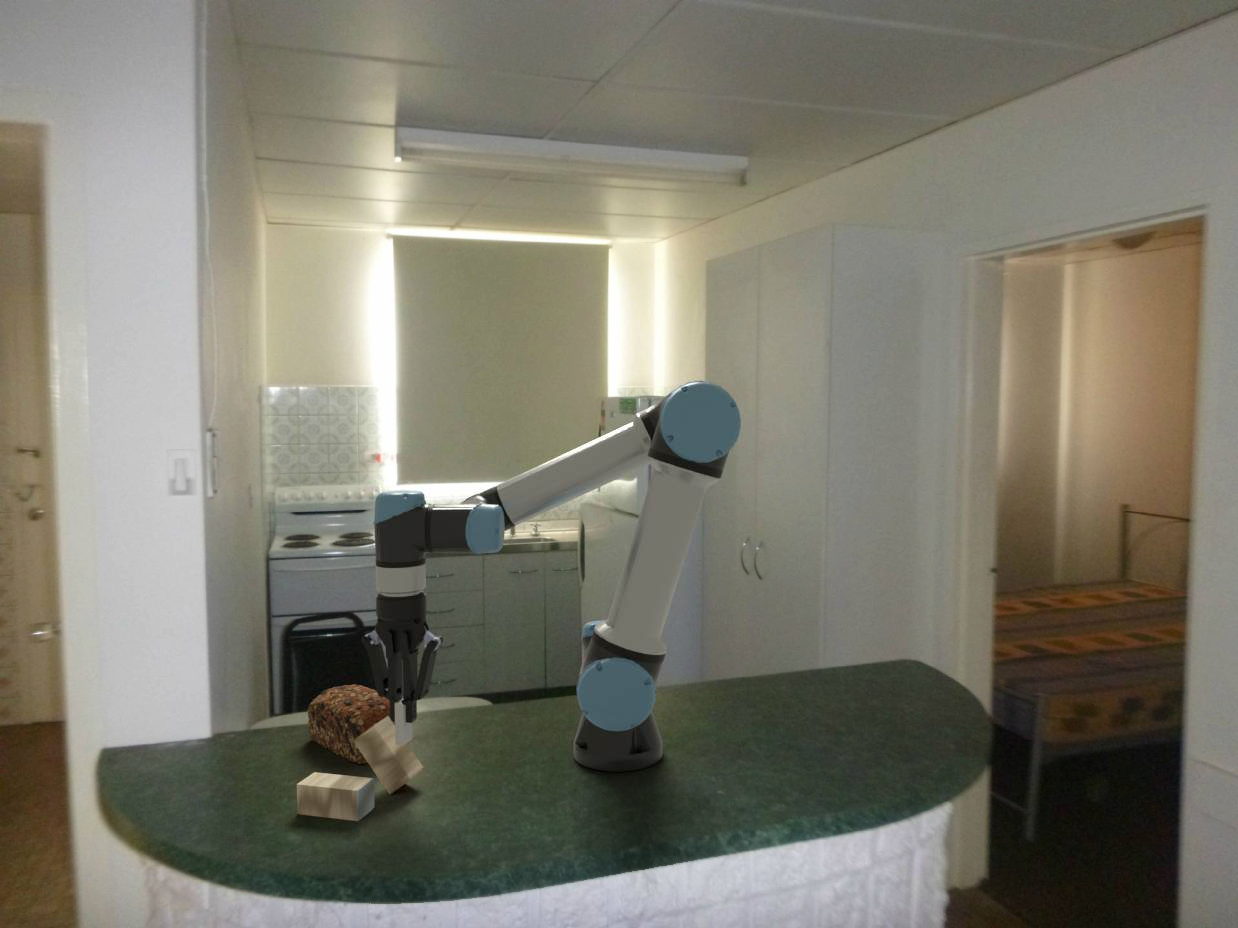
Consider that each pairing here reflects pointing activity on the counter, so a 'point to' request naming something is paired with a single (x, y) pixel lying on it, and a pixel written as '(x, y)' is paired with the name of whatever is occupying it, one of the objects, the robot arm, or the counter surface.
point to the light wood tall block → (388, 755)
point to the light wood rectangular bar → (335, 796)
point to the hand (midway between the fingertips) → (403, 741)
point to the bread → (345, 718)
